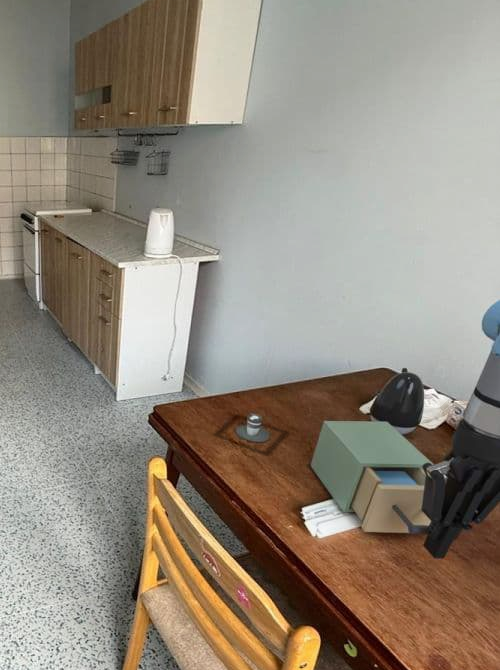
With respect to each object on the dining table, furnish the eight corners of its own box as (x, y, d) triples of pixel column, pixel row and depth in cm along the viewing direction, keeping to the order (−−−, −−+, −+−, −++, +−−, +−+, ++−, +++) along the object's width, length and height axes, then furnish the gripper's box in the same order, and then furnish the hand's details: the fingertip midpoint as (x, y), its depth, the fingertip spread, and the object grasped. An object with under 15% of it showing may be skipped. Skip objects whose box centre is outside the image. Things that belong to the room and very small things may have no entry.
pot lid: (285, 432, 115) (290, 415, 112) (266, 453, 107) (270, 435, 105) (238, 415, 122) (241, 399, 120) (216, 434, 115) (219, 417, 112)
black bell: (410, 422, 117) (432, 367, 110) (418, 444, 109) (443, 386, 102) (362, 414, 121) (381, 361, 114) (367, 435, 113) (387, 378, 106)
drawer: (455, 561, 78) (479, 516, 74) (384, 558, 79) (403, 514, 74) (387, 484, 95) (403, 444, 91) (329, 483, 96) (342, 443, 92)
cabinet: (411, 513, 89) (434, 464, 84) (343, 512, 90) (360, 463, 85) (370, 467, 102) (387, 421, 97) (310, 465, 103) (323, 420, 97)
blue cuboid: (393, 498, 90) (404, 471, 87) (409, 516, 86) (421, 488, 83) (355, 497, 91) (365, 470, 88) (369, 515, 86) (380, 487, 83)
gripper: (522, 413, 67) (459, 535, 78) (427, 413, 68) (378, 533, 79) (571, 443, 61) (494, 571, 72) (465, 442, 62) (405, 569, 73)
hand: (433, 551), depth 76 cm, fingers closed
